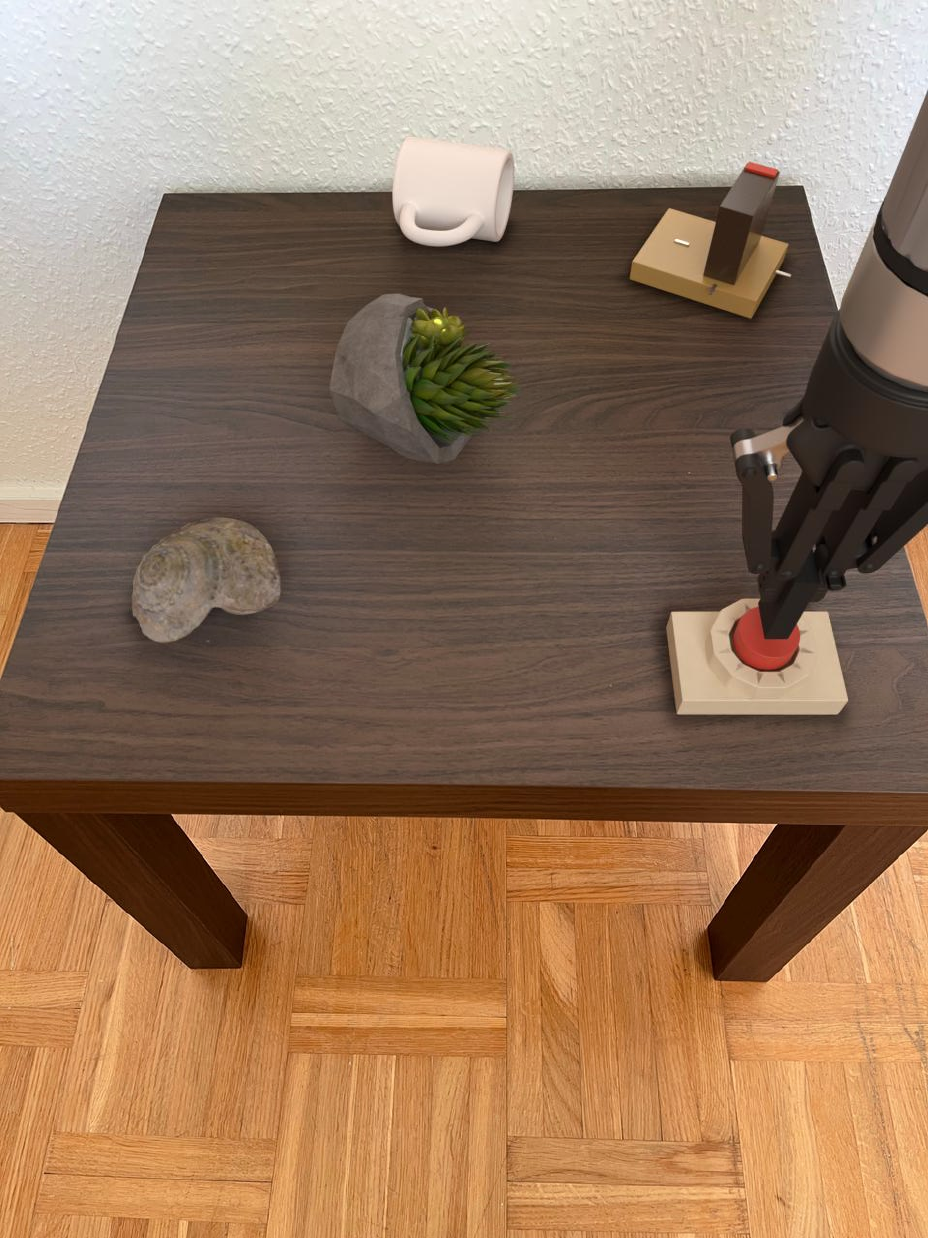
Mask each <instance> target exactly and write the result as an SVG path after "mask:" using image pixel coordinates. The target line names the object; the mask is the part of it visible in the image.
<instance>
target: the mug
mask: <svg viewBox="0 0 928 1238" xmlns="http://www.w3.org/2000/svg"><path fill="white" fill-rule="evenodd" d="M514 186H515V158H514V154H513V152H512V151H511V150H509V149H503V148H496V147H490V146H483V145H474V144H470V143H469V144H468V143H461V142H454V141H447V140H441V139H432V138H426V137H418V136H412V135H411V136H408V137H406V138H405V139H404V140H403V142H402V143H401V145H400V147H399V150H398V152H397V156H396V161H395V165H394V170H393V178H392V190H391V191H392V193H391V194H392V195H391V196H392V210H393V215H394V219H395V222H396V224H397V225H398V226H399V227H400V230H401V232H402V234H403V235H404V236H405V237H406V238H407V239H408V240H410V241H412V242H414V243H416V244H419V245H421V246H422V245H423V246H427V247H449V246H455V245H458V244H461V243H464V242H467V241H468V240H470V239H474V240H480V241H486V242H493V243H498V242H499V241H500V240H501V239H502V238H503V236H504V234H505V232H506V228H507V225H508V221H509V217H510V213H511V208H512V202H513V194H514Z"/></svg>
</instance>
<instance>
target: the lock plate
mask: <svg viewBox="0 0 928 1238" xmlns="http://www.w3.org/2000/svg"><path fill="white" fill-rule="evenodd" d="M715 224H716V221H714V220H710V219H707V218H704V217H701V216H697V215H694V214H690V213H687V212H685V211H681V210H677V209H674V208H670V207H668V209H667V210H666V212H665V213H664V215H663V216H662V217H661V219H660V220H659V222H658V223H657V225H656V226H655V228H654V229H653V230H652V232H651V234H649V236H648V238H647V239H646V240H645V242H644V244H643V245H642V247H641V248H640V250H639V251H638V253H637V254H636V255H635V257H634V259H632V262H631V267H630V273H629V280H631V281H634V282H637V283H640V284H643V285H645V286H650V287H652V288H654V289H655V288H656V289H659V290H660V291H661V290H662V291H665V292H667V293H671V294H673V295H676V296H680V297H683V298H686V299H690V300H692V301H696V302H698V303H702V304H704V305H708V306H711V307H714V308H717V309H720V310H723V311H725V312H729V313H732V314H734V315H738V316H740V317H743V318H748V319H750V320H751V319H752V318H753V316H754V315H755V313H756V311H757V310H758V308H759V306H760V304H761V302H762V301H763V298H764V297H765V295H766V293H767V291H768V290H769V288H770V286H771V284H772V283H773V281H774V279H775V277H776V275H778V276H782V277H784V278H788V279H791V277H792V274H791V273H788V272H784V271H781V270H780V268H781V266H782V264H783V262H784V261H785V256H786V254H787V251H788V249H789V243H787V242H784V241H780V240H776V239H773V238H771V237H767V236H763V235H761V239H760V242H759V243H758V245H757V247H756V248H755V250H754V252H753V254H752V255H751V257H750V259H749V261H748V262H747V264H746V266H745V268H744V269H743V271H742V273H741V274H740V276H739V278H738V280H737V281H736V283H735V285H732V284H728V283H725V282H722V281H719V280H716V279H713V278H709V277H706V276H703V273H704V269H705V265H706V261H707V257H708V253H709V248H710V244H711V240H712V236H713V232H714V228H715Z"/></svg>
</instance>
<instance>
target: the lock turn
mask: <svg viewBox="0 0 928 1238" xmlns="http://www.w3.org/2000/svg"><path fill="white" fill-rule="evenodd" d="M780 174H781V171H779V169H778V168H774V167H771V166H767V165H763V164H759V163H756V162H752V161H748V162H747V163H746V164H745V166H744V167H743V168H742V170H741V171H740V173H739V175H738V177H737V178H736V180H735V181H734V183H733V185H731V187H730V189H729V191H728V193H727V194H726V196H725V197H724V199H723V200H722V202H721V204H720V205H719V207H718V212H717V216H716V219H715V220H716V221H715V222H716V224H715V228H714V232H713V236H712V240H711V244H710V248H709V253H708V257H707V261H706V265H705V269H704V273H703V276H706V277H709V278H713V279H716V280H719V281H722V282H725V283H728V284H732V285H735V283H736V281H737V280H738V278H739V276H740V274H741V273H742V271H743V269H744V268H745V266H746V264H747V262H748V261H749V259H750V257H751V255H752V254H753V252H754V250H755V248H756V247H757V245H758V243H759V242H760V239H761V236H763V235H762V234H763V232H764V227H765V224H766V222H767V217H768V214H769V211H770V208H771V204H772V201H773V198H774V194H775V191H776V189H777V188H776V187H777V184H778V181H779V178H780Z"/></svg>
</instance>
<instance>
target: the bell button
mask: <svg viewBox="0 0 928 1238" xmlns="http://www.w3.org/2000/svg"><path fill="white" fill-rule="evenodd" d="M799 642H800V631H799V628H798V625H797V624H796V626H795V628H794V630H793V631H792V633H791V635H790V636H789V638H788V639H764V634H763V628H762V623H761V618H760V612H759V607H755V608H752V609H750V610H748V611H747V612H746V613H745V614H744V615H743V616H742V617H741V619H740V621H739V623H738V625H737V627H736V630H735V632H734V635H733V646H734V649H735V651H736V653H737V655H738V656H739V657H740V658H741V660H743V661H744V662H745V663H746V664H748V665H750V666H751V667H754V668H757V669H761V670H774V669H778V668H780V667H782V666H784V665H785V664H787V663H788V661H789V660H790V659H791V657H792V655H793V654H794V652H795V650H796V649H797V647H798V645H799Z"/></svg>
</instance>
